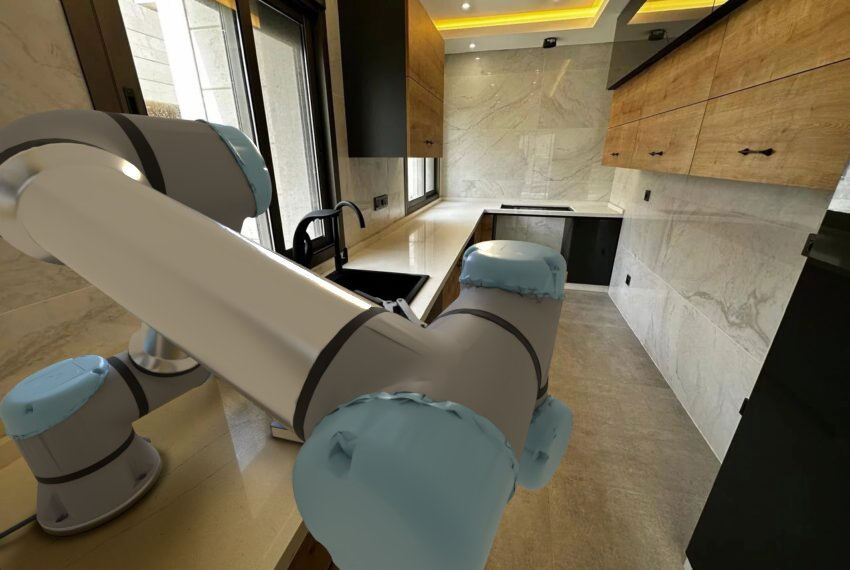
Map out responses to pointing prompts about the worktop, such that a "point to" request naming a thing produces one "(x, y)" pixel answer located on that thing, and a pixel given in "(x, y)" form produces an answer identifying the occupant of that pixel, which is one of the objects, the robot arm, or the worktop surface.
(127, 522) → the worktop surface
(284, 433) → the book
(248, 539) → the worktop surface
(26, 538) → the worktop surface
